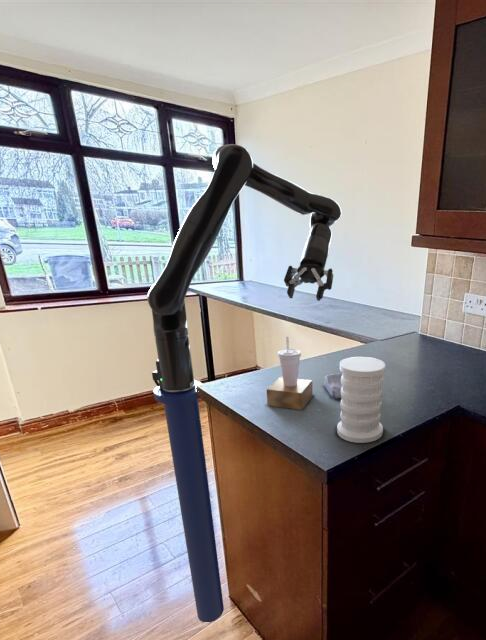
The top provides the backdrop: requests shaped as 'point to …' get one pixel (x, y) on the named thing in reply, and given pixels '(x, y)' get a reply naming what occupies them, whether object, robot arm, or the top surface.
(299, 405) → the oak block
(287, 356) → the smoothie
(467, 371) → the top surface
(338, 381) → the stone block
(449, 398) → the top surface
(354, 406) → the decorative container
